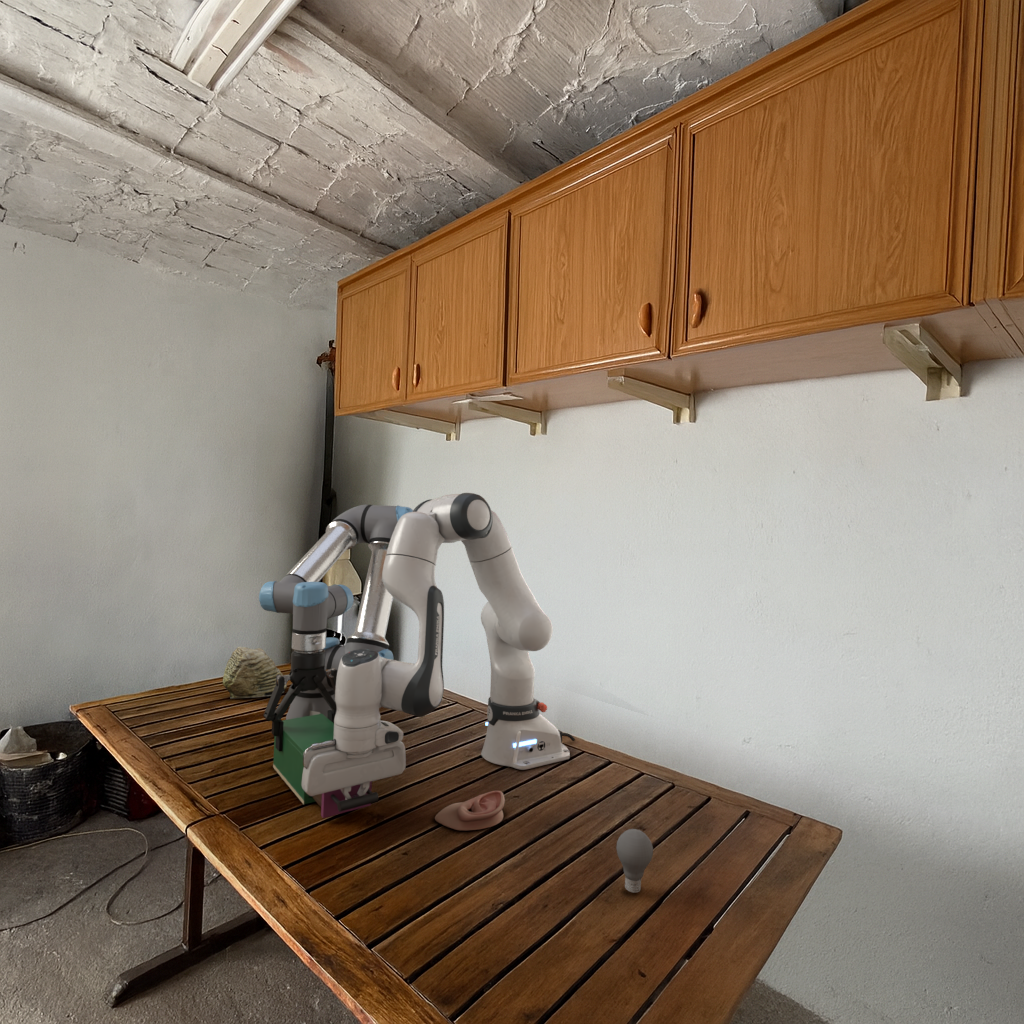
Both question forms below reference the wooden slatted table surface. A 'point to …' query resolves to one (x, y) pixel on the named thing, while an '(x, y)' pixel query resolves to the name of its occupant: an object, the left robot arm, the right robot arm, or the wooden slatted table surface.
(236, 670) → the fossil
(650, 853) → the light bulb
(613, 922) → the wooden slatted table surface
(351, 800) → the drawer
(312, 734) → the cabinet
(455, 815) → the anatomical model
